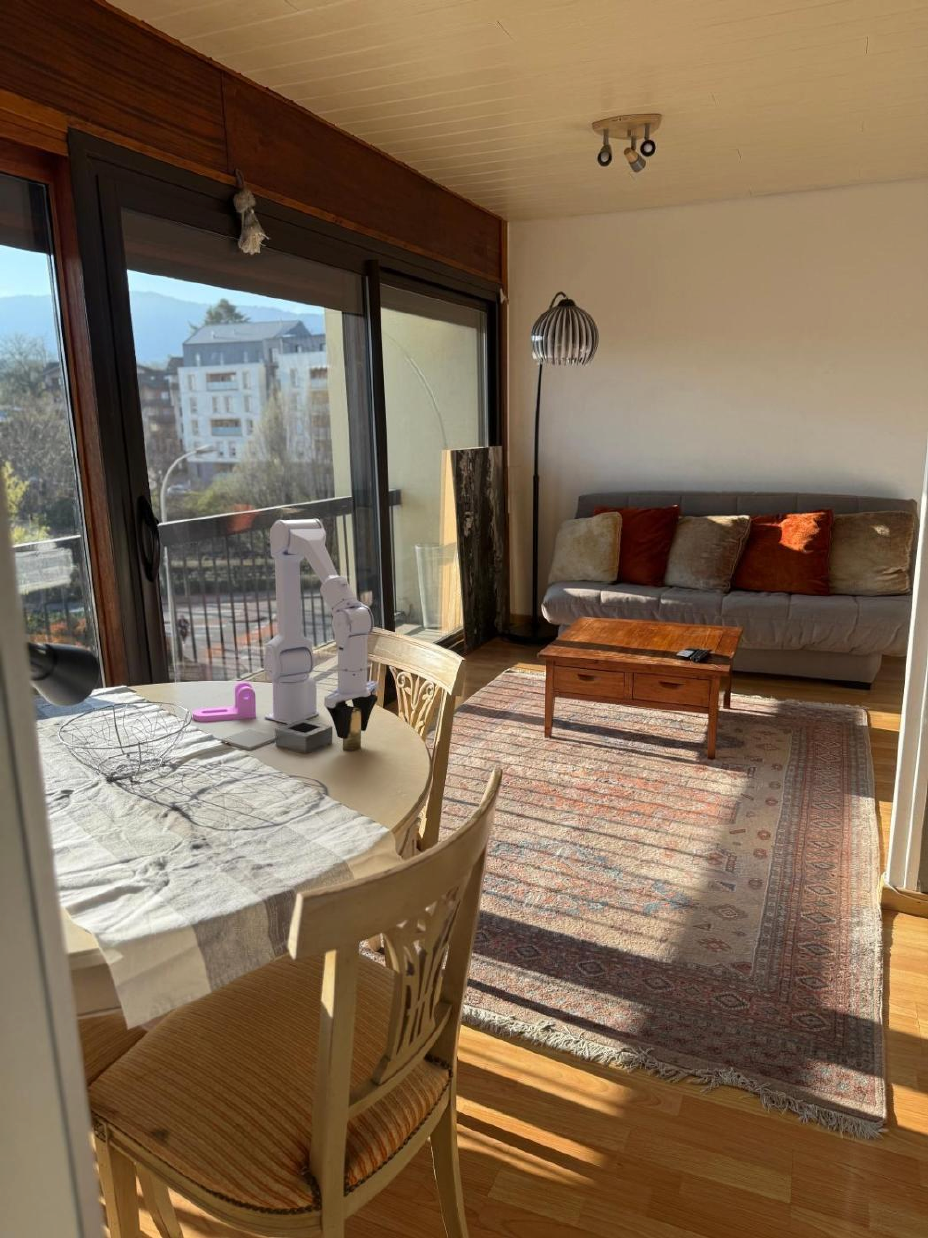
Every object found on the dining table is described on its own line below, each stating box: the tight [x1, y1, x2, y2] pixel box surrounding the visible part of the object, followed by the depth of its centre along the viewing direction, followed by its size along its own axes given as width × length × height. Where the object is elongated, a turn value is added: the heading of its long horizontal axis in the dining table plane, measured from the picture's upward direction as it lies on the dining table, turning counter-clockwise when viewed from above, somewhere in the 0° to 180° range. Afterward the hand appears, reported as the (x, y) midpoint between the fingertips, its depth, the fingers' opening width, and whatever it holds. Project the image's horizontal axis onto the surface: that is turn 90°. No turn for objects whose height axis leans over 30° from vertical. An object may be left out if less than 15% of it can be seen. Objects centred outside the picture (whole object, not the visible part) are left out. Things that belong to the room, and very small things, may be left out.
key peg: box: [342, 707, 362, 752], centre depth 173 cm, size 4×4×8 cm
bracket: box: [192, 681, 257, 723], centre depth 190 cm, size 13×6×7 cm, turn 112°
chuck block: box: [274, 719, 333, 755], centre depth 175 cm, size 8×8×4 cm
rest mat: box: [220, 728, 275, 751], centre depth 176 cm, size 8×8×1 cm
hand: (351, 733), depth 173 cm, fingers open, 5 cm apart
